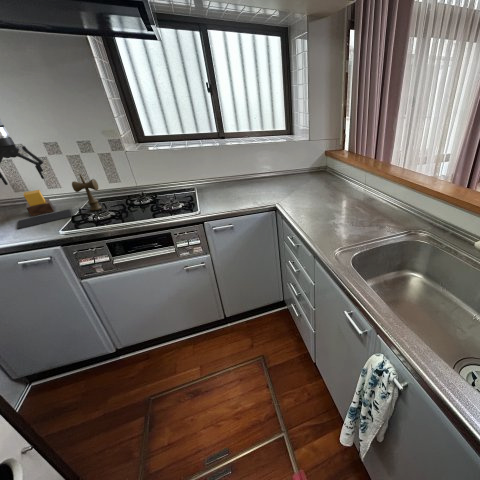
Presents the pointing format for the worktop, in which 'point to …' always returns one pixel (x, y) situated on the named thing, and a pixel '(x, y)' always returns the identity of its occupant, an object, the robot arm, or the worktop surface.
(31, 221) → the rubber mat
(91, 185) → the kendama
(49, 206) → the walnut block
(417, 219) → the worktop surface
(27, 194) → the mustard cube
